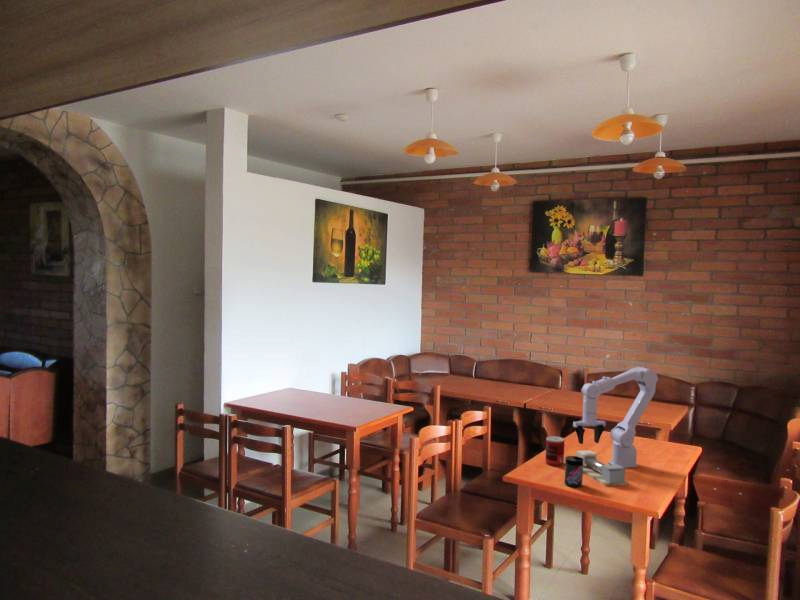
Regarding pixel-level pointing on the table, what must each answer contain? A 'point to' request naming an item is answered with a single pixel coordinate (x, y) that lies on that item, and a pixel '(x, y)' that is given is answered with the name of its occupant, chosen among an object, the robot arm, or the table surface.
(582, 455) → the sleeve
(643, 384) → the robot arm
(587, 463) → the tube
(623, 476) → the socket
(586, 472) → the board
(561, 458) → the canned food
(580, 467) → the supplement container
